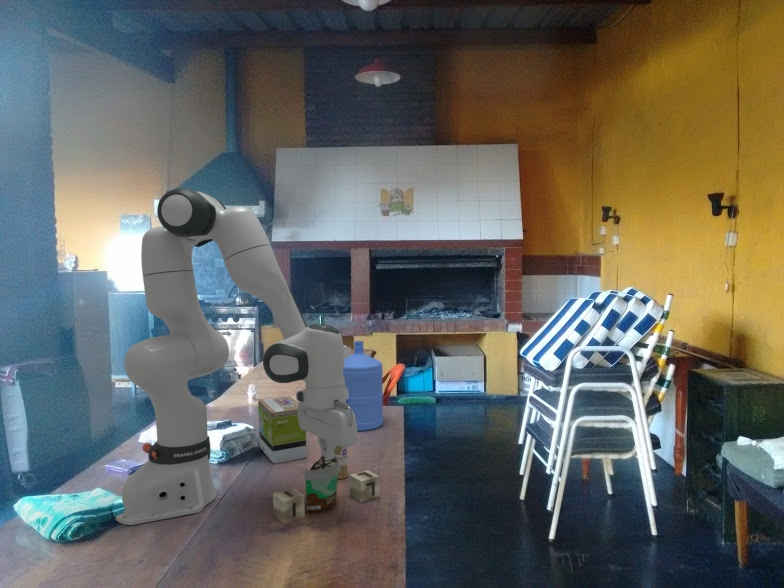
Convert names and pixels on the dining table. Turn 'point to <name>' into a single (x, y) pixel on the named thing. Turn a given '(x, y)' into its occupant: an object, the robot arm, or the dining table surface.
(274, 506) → the numbered block one
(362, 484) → the numbered block seven
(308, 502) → the food container
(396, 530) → the dining table surface
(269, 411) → the tea box
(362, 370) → the water jug
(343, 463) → the sprinkles bottle
